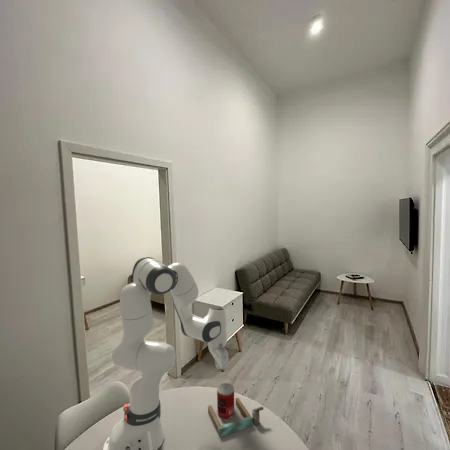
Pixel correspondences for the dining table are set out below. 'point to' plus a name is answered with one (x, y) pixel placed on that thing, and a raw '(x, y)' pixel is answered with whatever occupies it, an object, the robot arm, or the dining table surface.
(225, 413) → the canned food
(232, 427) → the bay
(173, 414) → the dining table surface
